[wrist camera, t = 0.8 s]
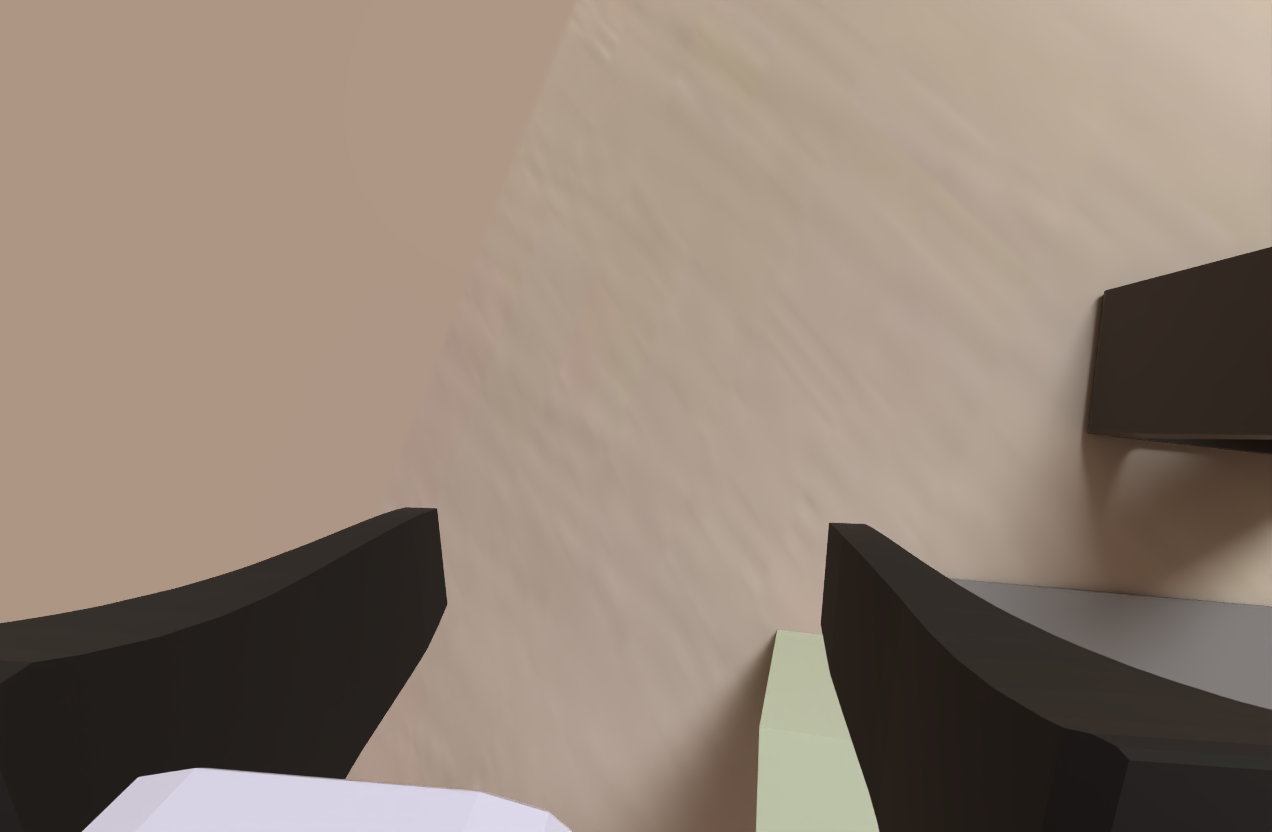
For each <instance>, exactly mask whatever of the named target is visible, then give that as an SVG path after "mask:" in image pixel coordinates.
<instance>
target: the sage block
mask: <svg viewBox="0 0 1272 832" xmlns="http://www.w3.org/2000/svg"><path fill="white" fill-rule="evenodd" d="M756 832H879V828H878V824H877V820H876V816H875V813H874V809H873V805H872V802H871V798H870V795H869V791H868V788H867V785H866V782H865V779H864V776H863V773H862V770H861V767H860V764H859V761H858V758H857V755H856V752H855V749H854V746H853V743H852V740H851V737H850V734H849V731H848V728H847V725H846V722H845V719H844V716H843V713H842V710H841V707H840V704H839V701H838V697H837V694H836V691H835V688H834V685H833V682H832V679H831V675H830V672H829V666H828V661H827V656H826V651H825V645H824V639H823V635H819V634H810V633H801V632H793V631H784V630H777V634H776V640H775V645H774V650H773V656H772V661H771V667H770V672H769V677H768V683H767V688H766V694H765V699H764V704H763V710H762V715H761V721H760V726H759V754H758V785H757V816H756Z"/></svg>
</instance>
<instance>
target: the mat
mask: <svg viewBox="0 0 1272 832" xmlns="http://www.w3.org/2000/svg"><path fill="white" fill-rule="evenodd" d="M950 580H952V581H953V582H955V583H957V584H958V585H960V586H962V587H963V588H965V589H967V590H968V591H970V592H972V593H974V594H975V595H977V596H979V597H980V598H982V599H984V600H986V601H987V602H989V603H991V604H993V605H994V606H996V607H998V608H1000V609H1002V610H1004V611H1006V612H1008V613H1010V614H1011V615H1014V616H1016V617H1018V618H1020V619H1022V620H1024V621H1026V622H1028V623H1030V624H1032V625H1034V626H1036V627H1038V628H1040V629H1042V630H1044V631H1047V632H1049V633H1051V634H1053V635H1055V636H1057V637H1060V638H1062V639H1064V640H1067V641H1069V642H1071V643H1074V644H1076V645H1078V646H1081V647H1083V648H1086V649H1088V650H1091V651H1093V652H1096V653H1098V654H1101V655H1104V656H1106V657H1109V658H1111V659H1114V660H1116V661H1119V662H1121V663H1124V664H1126V665H1129V666H1132V667H1135V668H1138V669H1140V670H1143V671H1146V672H1149V673H1152V674H1155V675H1157V676H1160V677H1163V678H1166V679H1169V680H1172V681H1175V682H1179V683H1182V684H1185V685H1188V686H1191V687H1194V688H1198V689H1201V690H1204V691H1207V692H1210V693H1213V694H1217V695H1220V696H1223V697H1226V698H1230V699H1233V700H1237V701H1240V702H1244V703H1248V704H1252V705H1255V706H1259V707H1263V708H1267V709H1271V710H1272V607H1270V606H1259V605H1248V604H1236V603H1225V602H1213V601H1202V600H1190V599H1178V598H1167V597H1155V596H1144V595H1132V594H1121V593H1109V592H1098V591H1086V590H1074V589H1063V588H1051V587H1040V586H1028V585H1017V584H1005V583H994V582H982V581H970V580H959V579H950Z"/></svg>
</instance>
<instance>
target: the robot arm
mask: <svg viewBox="0 0 1272 832" xmlns="http://www.w3.org/2000/svg"><path fill="white" fill-rule="evenodd" d="M446 606H447V597H446V587H445V578H444V569H443V559H442V550H441V541H440V532H439V522H438V513H437V509H435V508H407V507H406V508H402V509H397V510H394V511H391V512H388V513H385V514H382V515H379V516H376V517H374V518H371V519H368V520H366V521H363V522H361V523H358V524H356V525H353V526H351V527H348V528H346V529H343V530H341V531H339V532H336V533H334V534H331V535H329V536H327V537H324V538H322V539H319V540H316V541H314V542H312V543H309V544H307V545H304V546H301V547H299V548H296V549H293V550H290V551H288V552H285V553H282V554H280V555H277V556H275V557H272V558H269V559H267V560H264V561H261V562H259V563H256V564H253V565H250V566H247V567H244V568H242V569H239V570H236V571H233V572H229V573H226V574H223V575H220V576H217V577H213V578H210V579H207V580H203V581H200V582H196V583H193V584H189V585H186V586H183V587H179V588H175V589H171V590H167V591H163V592H158V593H154V594H151V595H146V596H141V597H137V598H133V599H129V600H125V601H120V602H116V603H112V604H108V605H103V606H98V607H94V608H88V609H83V610H77V611H72V612H67V613H62V614H56V615H50V616H44V617H38V618H32V619H26V620H20V621H13V622H7V623H0V832H573V831H572V830H570V829H569V828H568V827H567V826H566V825H565V824H563V823H562V822H561V821H560V820H559V819H557V818H556V817H555V816H554V815H553V814H551V813H550V812H549V811H548V810H547V809H544V808H541V807H537V806H534V805H530V804H527V803H524V802H520V801H517V800H514V799H510V798H507V797H503V796H500V795H497V794H493V793H490V792H487V791H478V790H466V789H454V788H442V787H430V786H418V785H406V784H394V783H382V782H370V781H358V780H346V779H345V778H346V777H347V775H348V773H349V771H350V770H351V768H352V766H353V765H354V763H355V761H356V760H357V758H358V756H359V755H360V753H361V751H362V750H363V748H364V747H365V745H366V744H367V742H368V740H369V739H370V737H371V736H372V734H373V733H374V731H375V730H376V728H377V727H378V725H379V724H380V722H381V720H382V719H383V717H384V716H385V714H386V713H387V711H388V710H389V708H390V707H391V705H392V704H393V702H394V700H395V699H396V697H397V696H398V694H399V693H400V691H401V690H402V688H403V687H404V685H405V684H406V682H407V680H408V679H409V677H410V676H411V674H412V673H413V671H414V669H415V668H416V666H417V665H418V663H419V661H420V660H421V658H422V657H423V655H424V653H425V652H426V650H427V648H428V646H429V644H430V642H431V640H432V638H433V636H434V634H435V631H436V629H437V627H438V625H439V622H440V620H441V618H442V615H443V613H444V611H445V608H446ZM821 627H822V633H823V639H824V645H825V651H826V656H827V661H828V666H829V672H830V675H831V679H832V682H833V685H834V688H835V691H836V694H837V697H838V701H839V704H840V707H841V710H842V713H843V716H844V719H845V722H846V725H847V728H848V731H849V734H850V737H851V740H852V743H853V746H854V749H855V752H856V755H857V758H858V761H859V764H860V767H861V770H862V773H863V776H864V779H865V782H866V785H867V788H868V791H869V795H870V798H871V802H872V805H873V809H874V813H875V816H876V820H877V824H878V828H879V832H1272V710H1271V709H1267V708H1263V707H1259V706H1255V705H1252V704H1248V703H1244V702H1240V701H1237V700H1233V699H1230V698H1226V697H1223V696H1220V695H1217V694H1213V693H1210V692H1207V691H1204V690H1201V689H1198V688H1194V687H1191V686H1188V685H1185V684H1182V683H1179V682H1175V681H1172V680H1169V679H1166V678H1163V677H1160V676H1157V675H1155V674H1152V673H1149V672H1146V671H1143V670H1140V669H1138V668H1135V667H1132V666H1129V665H1126V664H1124V663H1121V662H1119V661H1116V660H1114V659H1111V658H1109V657H1106V656H1104V655H1101V654H1098V653H1096V652H1093V651H1091V650H1088V649H1086V648H1083V647H1081V646H1078V645H1076V644H1074V643H1071V642H1069V641H1067V640H1064V639H1062V638H1060V637H1057V636H1055V635H1053V634H1051V633H1049V632H1047V631H1044V630H1042V629H1040V628H1038V627H1036V626H1034V625H1032V624H1030V623H1028V622H1026V621H1024V620H1022V619H1020V618H1018V617H1016V616H1014V615H1011V614H1010V613H1008V612H1006V611H1004V610H1002V609H1000V608H998V607H996V606H994V605H993V604H991V603H989V602H987V601H986V600H984V599H982V598H980V597H979V596H977V595H975V594H974V593H972V592H970V591H968V590H967V589H965V588H963V587H962V586H960V585H958V584H957V583H955V582H953V581H952V580H950V579H949V578H947V577H945V576H944V575H942V574H941V573H939V572H938V571H936V570H935V569H933V568H932V567H930V566H929V565H927V564H925V563H924V562H922V561H921V560H919V559H918V558H917V557H915V556H914V555H912V554H911V553H909V552H908V551H906V550H905V549H903V548H902V547H900V546H899V545H898V544H896V543H895V542H893V541H892V540H890V539H889V538H887V537H886V536H884V535H883V534H881V533H880V532H878V531H876V530H875V529H873V528H871V527H870V526H868V525H866V524H847V523H829V531H828V543H827V555H826V568H825V580H824V592H823V604H822V616H821Z"/></svg>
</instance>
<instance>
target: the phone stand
mask: <svg viewBox="0 0 1272 832" xmlns="http://www.w3.org/2000/svg"><path fill="white" fill-rule="evenodd" d="M1088 433H1089V434H1095V435H1104V436H1113V437H1122V438H1131V439H1139V440H1148V441H1157V442H1166V443H1175V444H1183V445H1192V446H1201V447H1213V448H1219V449H1227V450H1236V451H1245V452H1254V453H1263V454H1271V455H1272V247H1270V248H1266V249H1262V250H1258V251H1254V252H1251V253H1247V254H1243V255H1239V256H1235V257H1232V258H1228V259H1224V260H1220V261H1216V262H1212V263H1209V264H1205V265H1201V266H1197V267H1193V268H1190V269H1186V270H1182V271H1178V272H1174V273H1171V274H1167V275H1163V276H1159V277H1155V278H1152V279H1148V280H1144V281H1140V282H1136V283H1133V284H1129V285H1125V286H1121V287H1117V288H1113V289H1110V290H1106V291H1104V297H1103V306H1102V314H1101V323H1100V332H1099V340H1098V349H1097V358H1096V366H1095V375H1094V383H1093V392H1092V401H1091V409H1090V418H1089V426H1088Z"/></svg>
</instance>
